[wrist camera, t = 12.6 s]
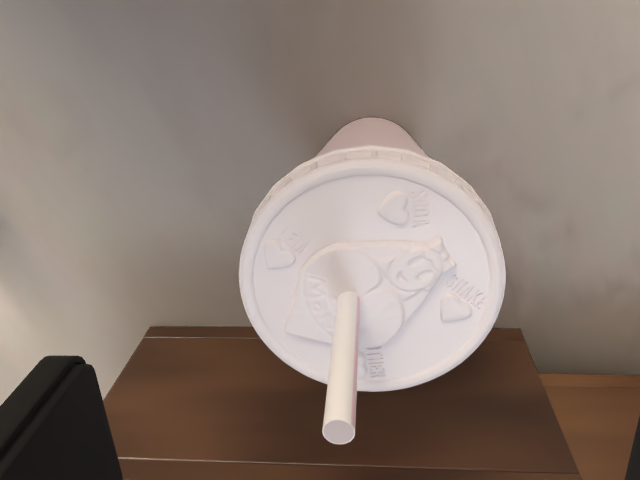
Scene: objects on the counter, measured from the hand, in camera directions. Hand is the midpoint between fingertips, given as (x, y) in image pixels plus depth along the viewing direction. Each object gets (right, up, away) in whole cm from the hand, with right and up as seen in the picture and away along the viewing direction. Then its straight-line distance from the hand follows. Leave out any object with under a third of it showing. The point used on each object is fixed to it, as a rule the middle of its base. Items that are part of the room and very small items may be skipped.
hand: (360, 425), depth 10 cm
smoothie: (+1, +6, +12) cm, 14 cm away
